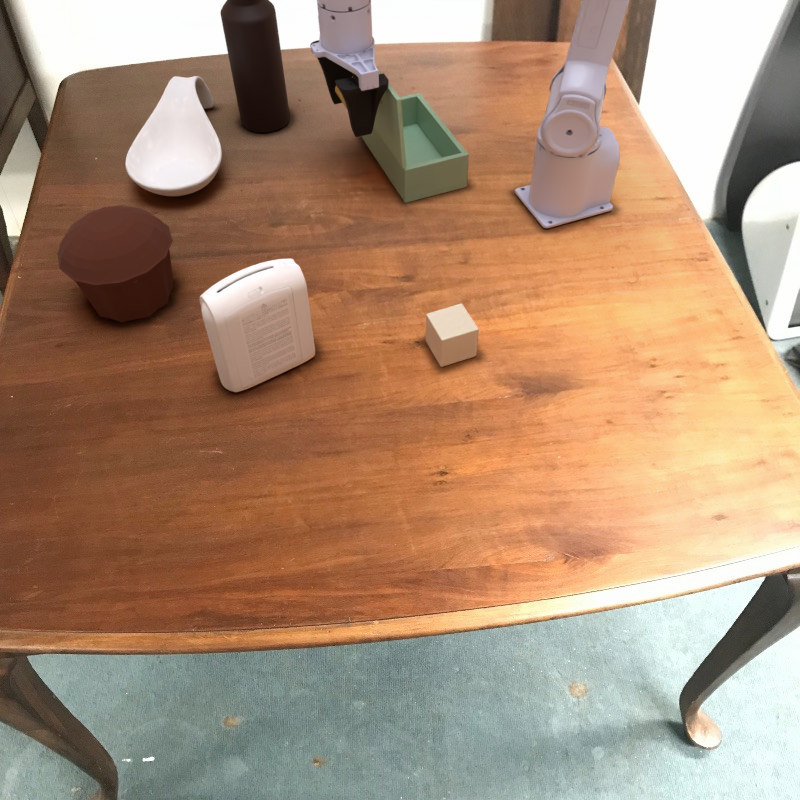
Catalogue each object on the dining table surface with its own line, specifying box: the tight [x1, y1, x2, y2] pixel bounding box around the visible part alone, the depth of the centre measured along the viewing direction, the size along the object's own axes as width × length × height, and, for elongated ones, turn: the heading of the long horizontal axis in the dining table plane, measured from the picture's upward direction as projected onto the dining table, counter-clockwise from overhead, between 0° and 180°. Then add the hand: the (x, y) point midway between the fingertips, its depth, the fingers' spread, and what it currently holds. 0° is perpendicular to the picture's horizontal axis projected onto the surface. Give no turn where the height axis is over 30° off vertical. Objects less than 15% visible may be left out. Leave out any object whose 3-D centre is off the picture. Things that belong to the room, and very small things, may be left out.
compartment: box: [361, 92, 470, 204], centre depth 99 cm, size 8×15×5 cm, turn 22°
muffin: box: [57, 204, 174, 323], centre depth 82 cm, size 12×11×10 cm
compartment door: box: [335, 67, 406, 168], centre depth 92 cm, size 9×15×5 cm
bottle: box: [219, 0, 291, 134], centre depth 99 cm, size 7×7×20 cm
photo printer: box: [199, 258, 316, 393], centre depth 74 cm, size 10×4×12 cm, turn 123°
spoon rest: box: [124, 75, 223, 197], centre depth 99 cm, size 24×12×7 cm, turn 3°
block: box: [425, 302, 480, 368], centre depth 78 cm, size 4×4×4 cm
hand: (351, 117), depth 92 cm, fingers open, 7 cm apart
